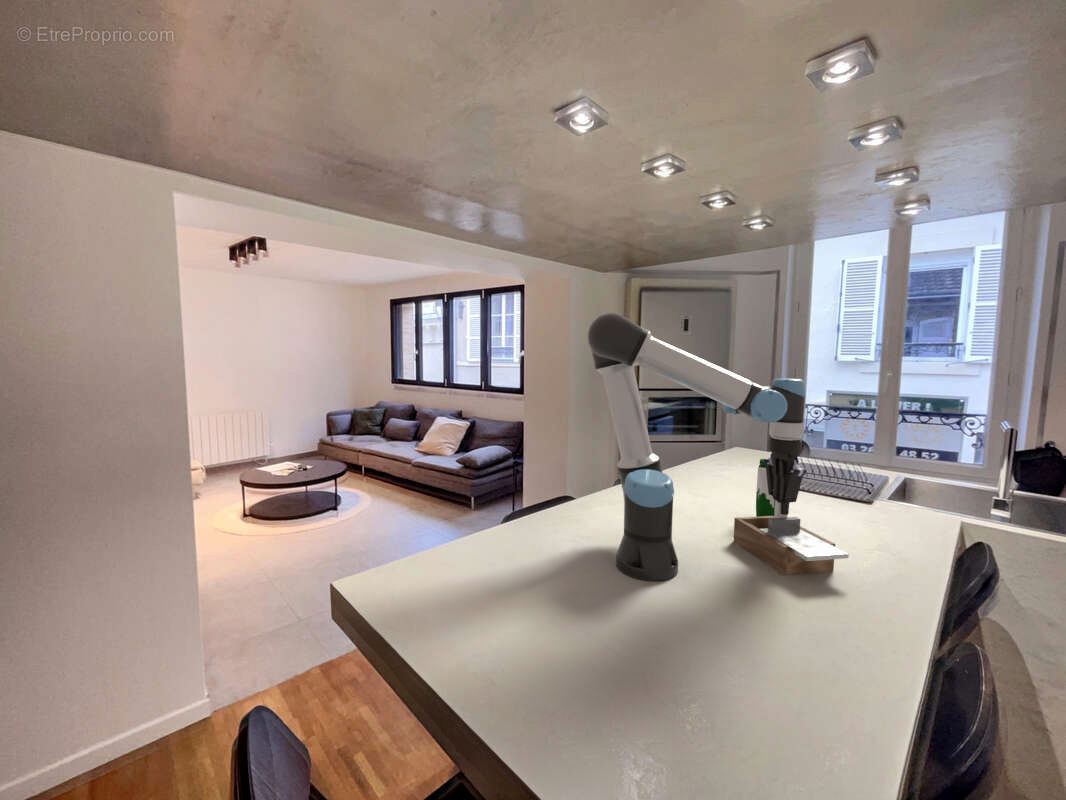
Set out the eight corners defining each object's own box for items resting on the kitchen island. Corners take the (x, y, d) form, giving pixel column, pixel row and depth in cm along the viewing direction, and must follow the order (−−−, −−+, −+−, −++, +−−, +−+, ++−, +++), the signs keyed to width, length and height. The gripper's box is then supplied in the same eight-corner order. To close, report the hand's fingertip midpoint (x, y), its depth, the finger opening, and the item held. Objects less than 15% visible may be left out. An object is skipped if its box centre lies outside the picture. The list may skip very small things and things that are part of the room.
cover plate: (807, 561, 102) (808, 542, 102) (758, 532, 119) (759, 516, 118) (848, 558, 104) (849, 539, 103) (795, 530, 120) (796, 514, 120)
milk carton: (758, 515, 149) (761, 456, 147) (789, 521, 144) (792, 460, 142) (752, 523, 142) (755, 461, 140) (784, 529, 137) (788, 465, 135)
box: (781, 574, 108) (783, 547, 107) (733, 541, 128) (734, 517, 127) (833, 571, 110) (835, 543, 109) (777, 538, 130) (779, 515, 129)
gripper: (817, 441, 110) (811, 533, 113) (780, 433, 123) (776, 515, 125) (790, 442, 109) (784, 535, 111) (756, 433, 122) (751, 516, 124)
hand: (780, 524), depth 118 cm, fingers closed
